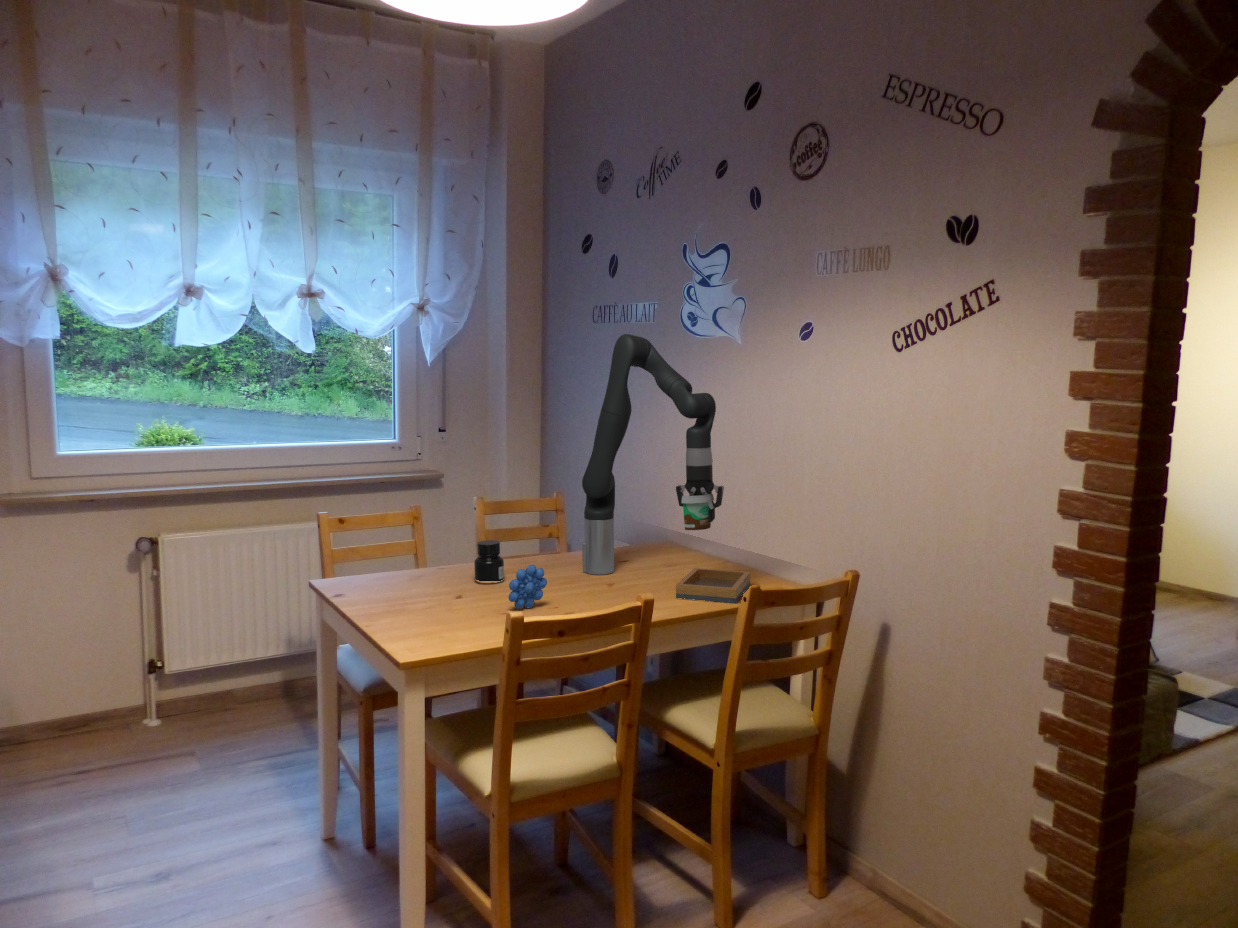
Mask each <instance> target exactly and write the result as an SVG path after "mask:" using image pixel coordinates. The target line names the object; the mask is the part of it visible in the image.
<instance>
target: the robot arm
mask: <svg viewBox="0 0 1238 928" xmlns="http://www.w3.org/2000/svg"><path fill="white" fill-rule="evenodd" d="M631 367H634V368H641V369H642V370H644V371H646V372H648V373H649V374H651V376H652V377H653V378H654V380H655V383H656V385H657V386H658V388H659V390H661V392H663V393H664V394H665V395H666V396H668V397H669V398H670V399H671V400H672V402H673V403H674V406H675V407H676V409H677V411H678V412H679V413H680V414H681V415H682V416H683V417H685V418H687V419H690V420H691V419H695V423H694V425H692V426H690V427H688V428H687V429H686V432H685V433H686V434H685V441H686V444H685V446H686V447H685V448H686V449H685V450H686V451H685V472H686V475H685V476H686V479H685V480H686V482H685V484H683V485H682V484H679V485H677V486H676V487H675V493H676V497H677V502H678V505H679V506H680V507H682V508H683V503H681V502H682V496H685V495H684V492H685V490H686V492H688V494H689V495H688V496H700V495H708V494H710V493H711V492H712V493H713V490H714V491H715V493H716V497H715V498H716V500H715V502H714V500H713V501H710V502H709V504H708V506H709V508H710V509H709V522H711V523H713V521H714V520H715V518H716V508H719V507H720V506H721V505H722V502H723V495H724V489H725V487H724V485H717V484H715V483H714V481H713V479H714V478H713V477H714V476H713V475H714V474H713V461H714V460H713V452H712V437H711V436H712V435H711V434H712V433H711V432H712V430H713V425H714V421H715V417H716V416H715V415H716V412H717V411H716V410H717V406H716V400H715V398H714V397H713V395H712V394H710V393H709V392H700V393H699V392H696V393H693V386H692V385H691V383H690V382H689V381H688V380H687V379H686V378H685V377H683V376H682V375H681V374H680V373H679V372H678V371H676V370H675V368H673V367H672V366H671V365H670V364H669V363H668V362H667V361H666V360H665V359H664V358H663V356H662V355H661V354H660V352H658V350H657V349H656V347H655V346H654V345H653V344H652V343H651V341H649V340H648V339H647V338H645V337H642V336H638V335H634V334H630V333H625V334H622V335H620V336H619V337H618V338H617V339H616V342H615V344H614V346H613V351H612V356H611V363H610V369H609V375H608V381H607V384H606V385H607V386H606V389H605V390H606V391H605V395H604V397H603V401H602V404H601V409H600V413H599V417H598V421H597V426H596V430H595V434H594V440H593V441H594V442H593V446H592V447H593V448H592V450H591V451H592V452H591V455H590V457H589V460H588V464H587V465H586V466H587V467H586V469H585V472H584V474H583V476H582V481H581V486H582V490H583V492H584V493H585V495H586V497H585V500H586V501H585V508H584V513H583V514H584V518H583V519H584V525H583V526H584V541H583V542H582V548H581V549H582V573H587V574H588V575H600V576H601V575H607V574H612V573H614V572H615V528H614V527H615V523H614V522H615V519H614V517H615V516H614V514H615V507H616V480H615V476H614V474H613V467H614V462H615V459H616V455H617V453H618V451H619V449H620V447H621V444H622V442H623V440H624V438H625V435H626V432H627V430H628V427H629V423H630V418H631V414H632V403H631V397H630V393H629V387H628V383H629V382H628V381H629V380H628V379H629V375H630V369H631ZM708 497H709V496H708ZM709 500H710V499H709Z"/></svg>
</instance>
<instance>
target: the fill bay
mask: <svg viewBox="0 0 1238 928" xmlns="http://www.w3.org/2000/svg"><path fill="white" fill-rule="evenodd" d="M749 587H751V571H743V570H731V569H729V570H728V569H716V568H715V569H714V568H713V569H712V568H699V567H694V568H693V569H691V570H690V572H689V571H688V573H687V574H686V575H685V576H683V578H682V579H680V580H679V582H677V583H676V585H675V599H676V598H682V599H681V600H685V599H695V600H694V601H697V600H705V601H704V602H709V601H713V602H712V603H722V602H723V603H724V604H734V605H735V604H737V603H738V601H739V600H740V599H741V597H742V596H743V595H744V594H743V592H744V591H745V590H746V589H747V588H748V589H749ZM748 589H747V590H748ZM747 590H746V591H747ZM746 591H745V592H746ZM745 592H744V593H745ZM742 594H743V595H742ZM741 595H742V596H741ZM684 598H685V599H684Z"/></svg>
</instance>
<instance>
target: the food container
mask: <svg viewBox="0 0 1238 928" xmlns="http://www.w3.org/2000/svg"><path fill="white" fill-rule="evenodd" d="M708 496H709V497H708ZM709 499H710V500H709ZM714 500H715V498H714V494H713V491H712V492H711V493H710V494H708V495H700V496H689V495H684V496H682V502H681V503H683V507H682V510H683V523H684V530H685V531H703V530H708V529H710V528H711V527H712V526H711V524H712V522H709V509H710V508H709V506H708V504H709V502H710V501H714Z"/></svg>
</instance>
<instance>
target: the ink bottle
mask: <svg viewBox="0 0 1238 928" xmlns="http://www.w3.org/2000/svg"><path fill="white" fill-rule="evenodd" d="M476 546H477V547H476V548H477V555H478V556H477V557H476V558H475V559H474V561H473V563H474V567H473V568H474V580H475V579H476V580H479V581H501V580H503V579H504V580H505V564H504V563H505V561H504V558H503V557H502V556H500V555H501V542H500V541H499V540H495V539H494V540H493V539H488V540H481V541H478V542H477V545H476ZM504 580H503V581H504Z"/></svg>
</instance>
